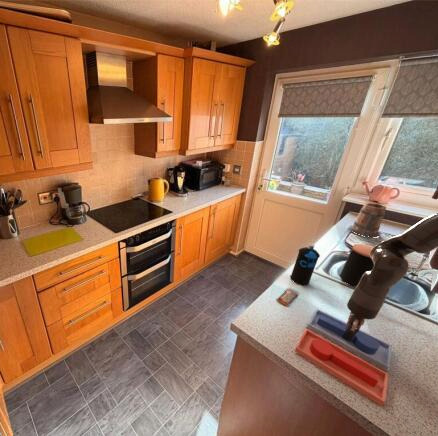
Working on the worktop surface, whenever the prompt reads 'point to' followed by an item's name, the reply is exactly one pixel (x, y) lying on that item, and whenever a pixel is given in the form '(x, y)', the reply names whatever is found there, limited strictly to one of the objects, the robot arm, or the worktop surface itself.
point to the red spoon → (342, 361)
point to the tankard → (369, 220)
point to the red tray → (372, 392)
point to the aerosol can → (304, 265)
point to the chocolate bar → (287, 297)
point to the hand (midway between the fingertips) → (346, 336)
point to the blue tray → (378, 358)
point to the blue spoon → (360, 339)
